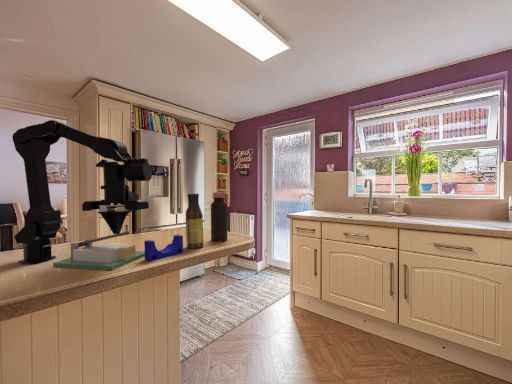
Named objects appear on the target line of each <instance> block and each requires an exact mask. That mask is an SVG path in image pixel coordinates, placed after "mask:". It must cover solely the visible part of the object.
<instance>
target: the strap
mask: <svg viewBox="0 0 512 384" xmlns="http://www.w3.org/2000/svg"><path fill="white" fill-rule="evenodd" d="M129 234H130V231H124V232H120V233H119V234H111V235H110V234H109V235H106V236H101V237H97V238H93V239H92V238H91V239H92V240H88V241H85V240H84V241H79V242H78V243H79V248H83V247H85V246H86V245H87V244H88V243H92V244H93V243H94V242H95V243H96V242H99V241H104V240H105V241H106V240H109V239H114V238H117V237H122V236H126V235H129Z"/></svg>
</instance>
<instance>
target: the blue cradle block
mask: <svg viewBox="0 0 512 384" xmlns="http://www.w3.org/2000/svg"><path fill="white" fill-rule="evenodd" d="M172 238H173V239H172V242H171V243H167V245H166V246H164V248H162V249H160V250H159V249H158V248H157V247H156V241H155V240H151V239H147V240H146V239H145V240H144V251H145V256H144V260H145V261H147V262H154V261H157V260H160V259H165V258H169V257H172V256H177V255H181V254H184V235H182V234H181V235H180V234H174V235H173V236H172Z"/></svg>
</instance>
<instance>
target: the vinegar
mask: <svg viewBox="0 0 512 384" xmlns="http://www.w3.org/2000/svg"><path fill="white" fill-rule="evenodd" d="M225 195H226V192H224V191H222V192H221V191H219V192H218V191H216V192H215V191H213V192H212V199H213V201H212V203H211V204H210V240H211V241H212V242H219V241H220V242H225V241H227V240H228V204H227V203H226V201H225V197H226V196H225Z"/></svg>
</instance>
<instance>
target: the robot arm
mask: <svg viewBox="0 0 512 384" xmlns="http://www.w3.org/2000/svg"><path fill="white" fill-rule="evenodd" d="M61 138H63V139H67V140H69V141H71V142H74V143H77V144H80V145H82V146H84V147H87V148H89V149H90V150H91V151H93V152H94V153H96V154H97V155H99V156H101V158H102V159H101V160H100V161H98V162H97V163H96V164H95V167H96V168H101V169H103V170H102V171H103V185H100V190H103V196H104V199H101V200H90V201H89V200H88V201H84V202H83V203H82V204H81V208H82V209H81V210H82V211H83V212H92V211H94V210H99V211H97V214H99V215H100V216H101V217H102V218H103V219H104V221H105V222H106V224H107V225H108V227H109V229H110V230H111V232H112V235H114V234H119V233H121V231H122V228H123V226H124V224H125V223H124V222H125V221H126V217H127V216H128V215H129V213H132V212H133V211H139V210H140V211H141V210H146V209H147V210H148V209H149V208H150V205H149V202H148V201H147V199H139V197H140V194H138V193H136V192H134V191H131V190H130V187H129V185H127V184H126V180H127V181H128V182H149V181H151V179H152V176H153V169H152V168H151V165H150V164H149V159H148V158H144V157H143V158H135V159H134V158H133V156H131V154H130V153H129V152H128V148H127V145H126V144H125V143H124V142H120V141H117V140H115V139H111V138H106V137H101V136H95V135H93V134H90V133H88V132H85V131H82V130H79V129H77V128H74V127H71V126H70V125H67V124H66V123H64V122H61V121H57V120H54V119H51V120H46V121H45V122H43V123H38V124H37V123H36V124H33V125H28V126H25V127H23V128H22V127H21V128H19V129H18V128H17V130H16V131H15V132H13V134H12V142H13V145H14V149H15V151H16V152H17V153H18V154H19V156H20V157H21V159H23V165H24V171H25V180H26V188H27V195H28V202H29V203H28V204H29V208H28V210H27V212H26V213H25V216H24V219H23V220H24V221H23V223H24V224H23V226H22V228H21V229H20V230H19V231H18V232H17V233H16V234H15V235H14V240H15V242H16V244H22V246H23V259H21V260H18V261H17V263H18V264H19V263H20V264H39V263H42V262H46V261H49V260H53V259H56V258H57V257H56V255H52V244H51V239H55V238H56V237H57V234H58V231H60V229H61V226H62V224H63V220H62V215H61V214H62V212H61V210H60V209H57V210H56V209H55V208H54V207H53V206H52V203H51V194H50V186H49V180H48V179H49V178H48V170H47V164H46V163H47V162H46V159H47V157H48V156H49V154H50V152H51V146H52V145H55V144H56V143H58V141H59V140H60V139H61ZM107 159H109V160H113V161H108V160H107ZM120 163H122V164H120Z"/></svg>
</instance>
